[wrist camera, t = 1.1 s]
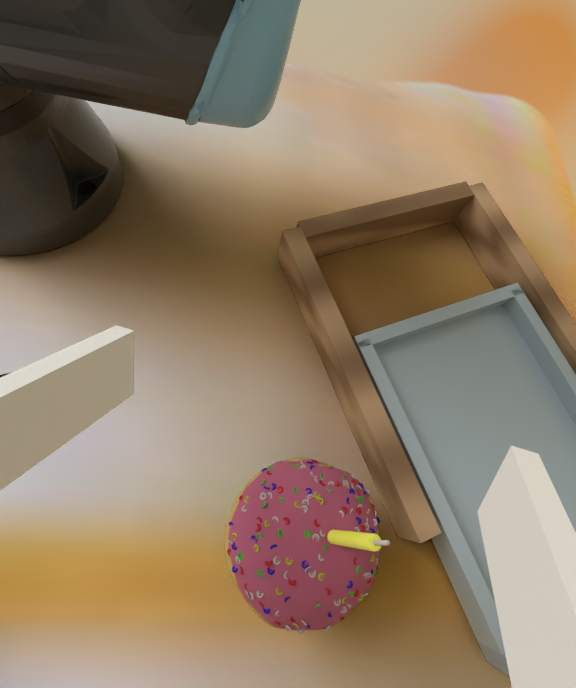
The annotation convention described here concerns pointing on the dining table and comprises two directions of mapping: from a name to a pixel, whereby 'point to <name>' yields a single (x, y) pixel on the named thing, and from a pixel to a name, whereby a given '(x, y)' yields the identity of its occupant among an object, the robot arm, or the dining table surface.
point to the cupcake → (303, 544)
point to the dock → (337, 344)
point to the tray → (475, 422)
